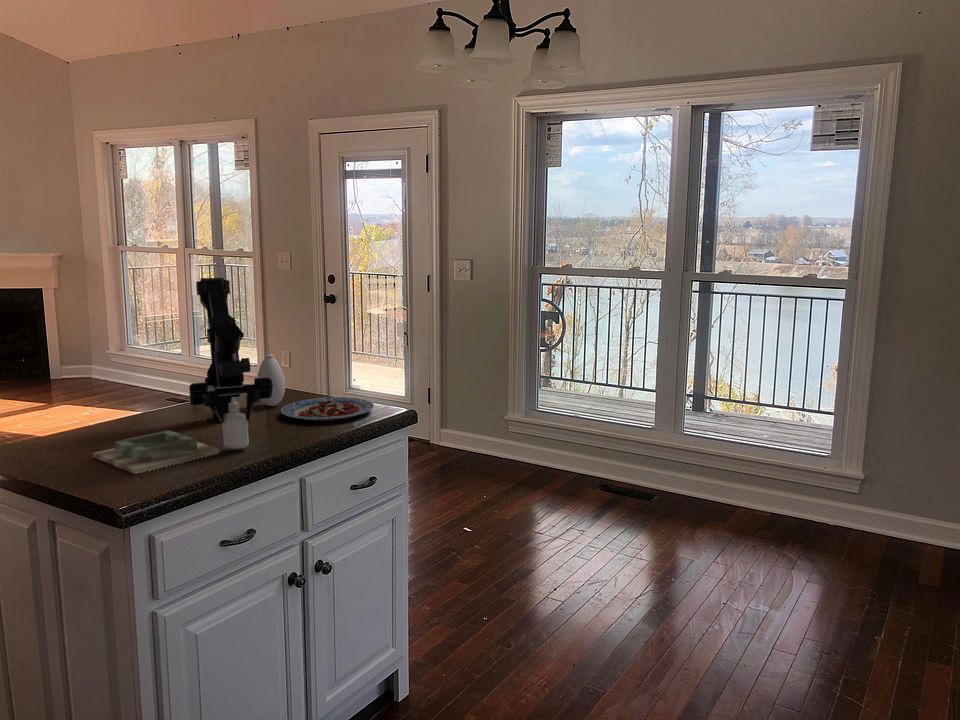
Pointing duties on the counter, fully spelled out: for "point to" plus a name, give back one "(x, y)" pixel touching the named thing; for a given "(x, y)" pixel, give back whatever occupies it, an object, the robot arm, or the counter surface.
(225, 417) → the eye dropper bottle
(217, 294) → the robot arm
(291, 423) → the counter surface
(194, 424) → the counter surface
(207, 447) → the bottle socket
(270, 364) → the white vase
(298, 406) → the ceramic plate
